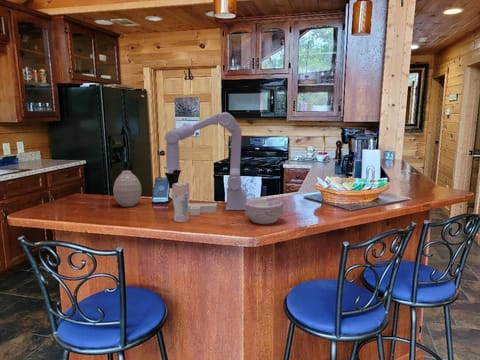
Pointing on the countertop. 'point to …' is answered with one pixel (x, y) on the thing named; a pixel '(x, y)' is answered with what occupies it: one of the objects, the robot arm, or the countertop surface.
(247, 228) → the countertop surface
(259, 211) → the paper bowls
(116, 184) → the vase
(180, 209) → the beer glass
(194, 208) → the stub
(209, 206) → the white striped box
